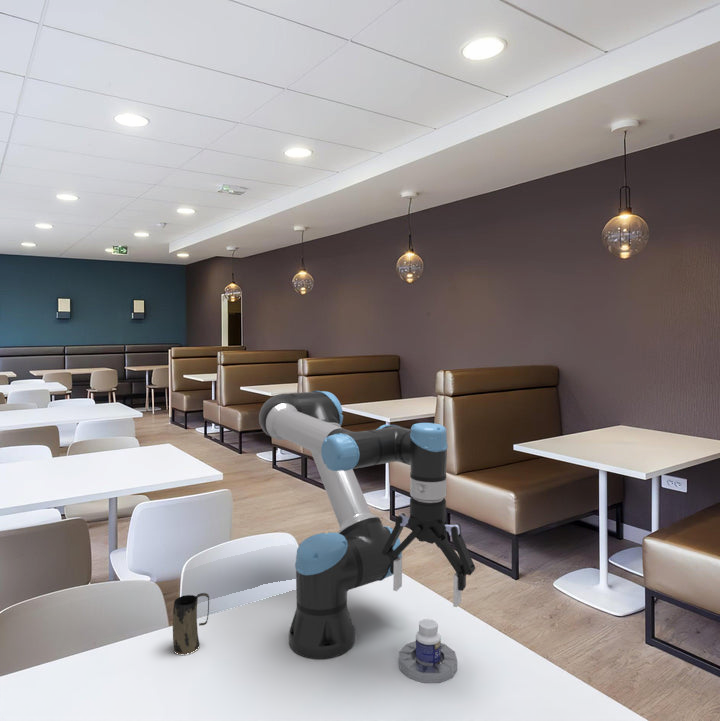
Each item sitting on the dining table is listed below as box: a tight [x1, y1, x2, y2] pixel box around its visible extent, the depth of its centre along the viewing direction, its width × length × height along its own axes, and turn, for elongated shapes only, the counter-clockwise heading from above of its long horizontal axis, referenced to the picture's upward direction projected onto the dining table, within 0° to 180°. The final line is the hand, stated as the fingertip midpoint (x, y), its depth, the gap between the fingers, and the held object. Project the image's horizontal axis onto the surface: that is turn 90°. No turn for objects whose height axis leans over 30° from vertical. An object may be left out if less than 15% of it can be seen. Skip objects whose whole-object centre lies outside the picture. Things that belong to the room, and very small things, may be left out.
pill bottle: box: [415, 618, 442, 666], centre depth 117 cm, size 5×5×9 cm
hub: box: [398, 640, 458, 684], centre depth 117 cm, size 12×12×3 cm
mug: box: [172, 592, 210, 654], centre depth 123 cm, size 8×6×12 cm
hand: (426, 596), depth 116 cm, fingers open, 13 cm apart
